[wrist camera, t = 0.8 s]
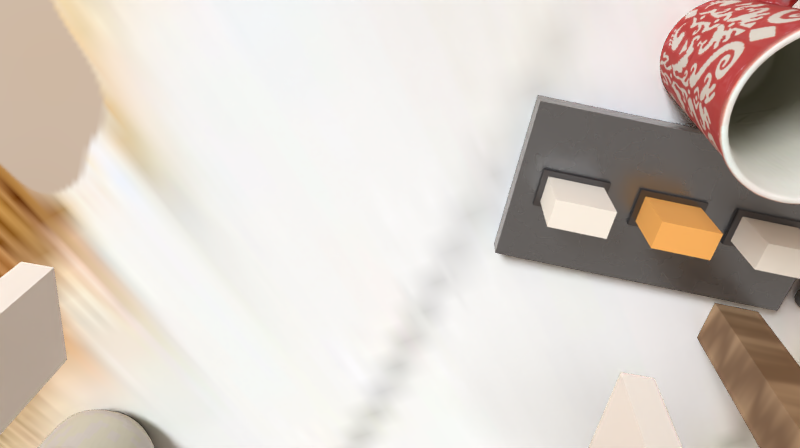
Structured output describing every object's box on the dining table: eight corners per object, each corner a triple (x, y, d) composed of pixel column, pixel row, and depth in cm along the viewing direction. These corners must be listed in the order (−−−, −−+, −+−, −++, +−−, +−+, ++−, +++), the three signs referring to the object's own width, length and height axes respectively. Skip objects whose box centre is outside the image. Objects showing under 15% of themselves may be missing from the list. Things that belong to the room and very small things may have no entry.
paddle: (548, 176, 42) (556, 199, 39) (603, 187, 42) (617, 212, 39) (540, 201, 43) (547, 226, 40) (594, 212, 43) (606, 238, 40)
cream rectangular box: (742, 216, 42) (768, 243, 39) (798, 227, 42) (829, 256, 39) (730, 240, 43) (754, 269, 40) (784, 252, 43) (813, 281, 40)
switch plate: (537, 95, 42) (540, 101, 40) (847, 159, 42) (863, 168, 40) (494, 243, 47) (495, 254, 46) (768, 299, 47) (779, 313, 46)
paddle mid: (645, 196, 42) (662, 221, 39) (701, 207, 42) (723, 234, 39) (635, 221, 43) (650, 248, 40) (689, 232, 43) (710, 260, 40)
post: (714, 302, 48) (843, 494, 32) (757, 311, 48) (908, 508, 32) (697, 337, 49) (810, 536, 33) (738, 346, 49) (872, 549, 33)
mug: (732, 144, 42) (840, 233, 30) (617, 92, 41) (682, 162, 29) (863, -37, 36) (1062, -16, 24) (734, -102, 36) (874, -114, 24)
